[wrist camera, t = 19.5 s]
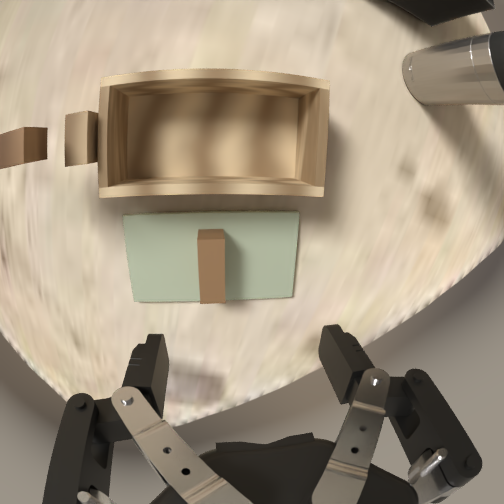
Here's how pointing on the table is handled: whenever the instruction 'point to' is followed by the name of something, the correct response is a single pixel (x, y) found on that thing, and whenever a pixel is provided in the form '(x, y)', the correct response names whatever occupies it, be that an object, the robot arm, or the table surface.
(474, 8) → the voltmeter
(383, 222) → the table surface
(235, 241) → the lid
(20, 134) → the wooden block
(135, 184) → the toolbox
